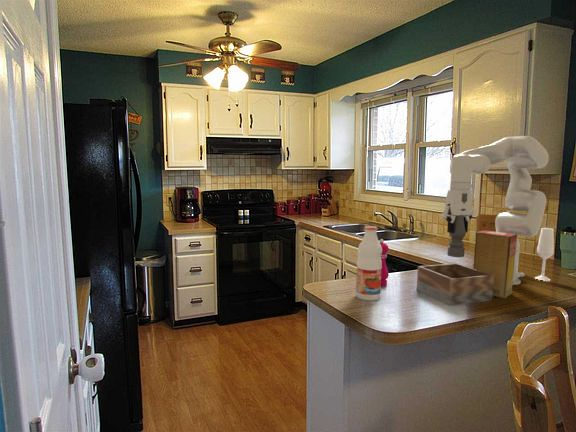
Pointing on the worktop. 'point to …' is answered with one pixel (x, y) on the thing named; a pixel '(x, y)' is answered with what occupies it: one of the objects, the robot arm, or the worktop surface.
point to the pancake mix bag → (485, 223)
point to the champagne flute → (545, 249)
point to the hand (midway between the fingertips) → (457, 231)
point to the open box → (455, 283)
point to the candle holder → (458, 234)
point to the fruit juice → (369, 266)
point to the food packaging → (496, 259)
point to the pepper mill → (384, 263)
